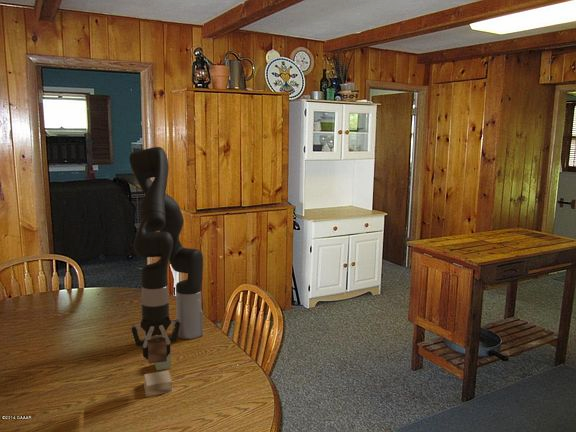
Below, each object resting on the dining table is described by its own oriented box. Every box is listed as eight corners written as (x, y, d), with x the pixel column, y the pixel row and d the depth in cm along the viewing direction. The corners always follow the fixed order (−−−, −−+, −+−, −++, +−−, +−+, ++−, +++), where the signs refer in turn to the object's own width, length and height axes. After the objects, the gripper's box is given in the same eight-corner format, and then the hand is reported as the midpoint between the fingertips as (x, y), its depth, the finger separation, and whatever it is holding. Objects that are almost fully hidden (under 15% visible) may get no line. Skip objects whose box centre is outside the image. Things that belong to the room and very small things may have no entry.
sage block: (169, 365, 159) (168, 348, 158) (171, 371, 155) (170, 353, 154) (154, 367, 157) (154, 350, 156) (156, 373, 153) (156, 356, 152)
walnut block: (164, 353, 144) (164, 334, 143) (166, 361, 140) (166, 341, 139) (147, 356, 143) (146, 337, 142) (148, 363, 138) (148, 344, 137)
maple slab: (168, 379, 147) (168, 370, 147) (172, 391, 141) (171, 381, 140) (144, 383, 145) (144, 374, 144) (147, 395, 138) (146, 385, 138)
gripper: (178, 294, 144) (179, 348, 147) (128, 299, 139) (129, 355, 142) (182, 302, 137) (183, 358, 140) (129, 308, 132) (131, 366, 135)
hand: (156, 356), depth 141 cm, fingers closed on walnut block, 5 cm apart
